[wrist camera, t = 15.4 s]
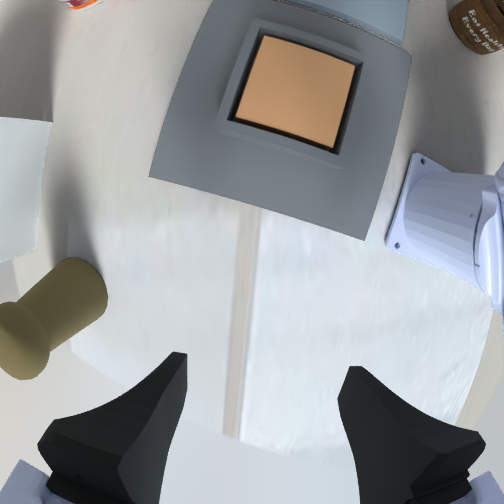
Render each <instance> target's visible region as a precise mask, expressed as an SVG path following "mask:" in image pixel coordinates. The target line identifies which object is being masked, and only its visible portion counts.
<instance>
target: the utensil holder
mask: <svg viewBox="0 0 504 504" xmlns="http://www.w3.org/2000/svg"><path fill="white" fill-rule="evenodd" d="M449 17H450V22H451V25H452V27H453V29H454V31H455V33H456V34H457V36H458V37H459V38H460V40H461V41H462V42H463V43H464V44H465V45H466V46H467V47H468V48H469V49H471V50H472V51H474V52H476V53H478V54H482V55H483V54H489V53H492V52H495V51H498V50H501V49H503V48H504V0H463V1H461V2H460V3H458V4H457V5H456V6H454V7H453V8H452V9H451V11H450V15H449Z"/></svg>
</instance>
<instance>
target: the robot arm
mask: <svg viewBox="0 0 504 504" xmlns="http://www.w3.org/2000/svg"><path fill="white" fill-rule="evenodd" d="M421 159H423V164H421ZM397 242H398V246H397V247H396V248H395V244H396V243H397ZM385 246H386V247H387V248H388V249H390V250H392V251H395V252H397V253H400V254H403V255H406V256H408V257H411V258H414V259H416V260H419V261H422V262H424V263H427V264H429V265H432V266H434V267H437V268H440V269H442V270H445V271H447V272H450V273H452V274H454V275H456V276H458V277H459V278H461V279H463V280H465V281H466V282H468V283H470V284H471V285H473V286H474V287H476V288H478V289H479V290H481V291H483V292H484V293H486V294H487V295H488V296H489V297H490V299H491V307H492V308H494V309H495V310H497V311H498V312H499V313H501V314H502V315H503V324H502V326H503V333H504V162H503V163H502V165H501V167H500V168H499V170H498V171H497V172H496V173H495V176H493V175H482V174H469V173H453V172H451V171H450V170H448V169H446V168H445V167H443V166H441V165H440V164H438V163H436V162H435V161H433V160H431V159H429V158H428V157H426V156H424V155H422V154H420V153H418V152H417V153H413V154H412V156H411V160H410V164H409V167H408V171H407V175H406V178H405V182H404V185H403V189H402V192H401V196H400V199H399V202H398V205H397V208H396V212H395V215H394V218H393V221H392V224H391V227H390V230H389V232H388V235H387V238H386V241H385ZM186 392H187V354H185V353H179V352H172V353H171V354H170V355H169V356H168V357H167V358H166V359H165V360H164V361H163V362H162V363H161V364H160V365H159V366H158V367H157V368H156V369H155V370H154V371H153V372H151V373H150V374H149V375H148V376H147V377H146V378H145V379H143V380H142V381H141V382H139V383H138V384H137V385H136V386H134V387H133V388H132V389H130V390H129V391H127V392H126V393H124V394H122V395H121V396H119V397H118V398H116V399H114V400H112V401H110V402H108V403H106V404H104V405H102V406H100V407H97V408H95V409H93V410H90V411H87V412H84V413H81V414H77V415H74V416H70V417H65V418H61V419H55V420H54V421H53V422H52V423H51V424H50V426H49V427H48V428H47V430H46V431H45V433H44V434H43V436H42V438H41V439H40V441H39V442H38V444H37V445H38V450H39V451H40V454H41V455H42V457H43V458H44V460H45V461H46V463H47V464H48V465H49V467H50V468H51V470H52V471H53V472H52V474H51V476H50V477H49V476H48V475H46V474H45V473H44V472H42V471H40V470H38V469H37V468H35V467H33V466H31V465H30V464H28V463H26V462H25V461H23V460H19V462H18V463H17V465H16V466H15V468H14V470H13V471H12V473H11V475H10V476H9V478H8V480H7V481H6V483H5V485H4V487H3V488H2V490H1V491H0V504H159V499H160V493H161V486H162V481H163V475H164V470H165V465H166V460H167V455H168V451H169V448H170V444H171V441H172V438H173V436H174V433H175V430H176V427H177V424H178V421H179V418H180V416H181V413H182V410H183V407H184V402H185V397H186ZM337 399H338V405H339V411H340V416H341V419H342V422H343V426H344V429H345V432H346V435H347V437H348V440H349V443H350V446H351V449H352V452H353V456H354V460H355V465H356V471H357V477H358V485H359V494H360V504H504V494H503V492H502V491H501V489H500V487H499V485H498V484H497V482H496V480H495V479H494V477H493V476H492V474H491V472H490V471H487V472H485V473H484V474H482V475H480V476H478V477H476V478H474V479H473V480H471V481H470V482H468V480H467V477H469V475H470V474H469V472H468V469H469V468H470V466H471V465H472V464H473V463H474V462H475V461H476V460H477V459H478V457H479V456H480V455H481V454H482V452H483V451H484V449H485V445H486V443H485V441H484V440H483V439H482V437H481V435H480V434H479V433H478V432H477V431H472V430H468V429H463V428H459V427H456V426H453V425H450V424H447V423H445V422H442V421H440V420H437V419H435V418H433V417H431V416H429V415H427V414H425V413H423V412H421V411H420V410H418V409H416V408H415V407H413V406H411V405H410V404H408V403H407V402H406V401H404V400H403V399H401V398H400V397H399V396H397V395H396V394H395V393H393V392H392V391H391V390H390V389H388V388H387V387H386V386H385V385H384V384H383V383H381V382H380V381H379V380H378V379H377V378H376V377H374V376H373V375H372V374H371V373H370V372H368V371H367V370H366V369H365V368H363V367H362V366H350V367H349V370H348V372H347V375H346V378H345V380H344V383H343V386H342V388H341V391H340V393H339V396H338V398H337Z"/></svg>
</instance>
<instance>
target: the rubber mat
mask: <svg viewBox="0 0 504 504" xmlns="http://www.w3.org/2000/svg"><path fill="white" fill-rule="evenodd" d="M287 1H291V2H294V3H298V4H301V5H305V6H308V7H311V8H314V9H317V10H320V11H323V12H326V13H329V14H332V15H334V16H337V17H340V18H342V19H345V20H347V21H350V22H352V23H355V24H357V25H359V26H362V27H364V28H366V29H368V30H371V31H373V32H375V33H377V34H379V35H381V36H383V37H385V38H387V39H389V40H391V41H393V42H395V43H397V44H400V43H402V42H403V39H404V32H405V24H406V16H407V7H408V0H287Z"/></svg>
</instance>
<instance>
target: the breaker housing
mask: <svg viewBox="0 0 504 504" xmlns="http://www.w3.org/2000/svg"><path fill="white" fill-rule="evenodd" d="M264 35H265V36H269V37H272V38H276V39H280V40H283V41H287V42H290V43H294V44H297V45H300V46H303V47H306V48H309V49H312V50H315V51H318V52H321V53H324V54H326V55H329V56H332V57H334V58H337V59H339V60H342V61H344V62H347V63H349V64H352V65H354V66H355V69H354V72H353V76H352V80H351V84H350V88H349V92H348V95H347V99H346V103H345V106H344V110H343V114H342V117H341V121H340V124H339V128H338V131H337V135H336V138H335V142H334V145H333V148H331V149H327V150H322V149H319V148H316V147H314V146H311V145H308V144H305V143H302V142H299V141H296V140H293V139H290V138H287V137H284V136H281V135H278V134H274V133H271V132H268V131H264V130H261V129H258V128H254V127H251V126H247V125H243V124H240V123H237V120H236V114H237V111H238V108H239V105H240V102H241V99H242V96H243V93H244V90H245V87H246V84H247V81H248V79H249V76H250V73H251V70H252V67H253V65H254V62H255V59H256V56H257V54H258V51H259V48H260V46H261V43H262V40H263V38H264ZM411 60H412V55H410V54H408V53H406V52H405V51H403V50H401V49H399V48H397V47H395V46H393V45H392V44H390V43H388V42H386V41H384V40H382V39H380V38H378V37H375V36H373V35H371V34H369V33H367V32H365V31H362V30H360V29H358V28H355V27H353V26H351V25H348V24H346V23H343V22H341V21H338V20H335V19H333V18H330V17H327V16H324V15H321V14H318V13H315V12H312V11H309V10H306V9H303V8H299V7H296V6H292V5H289V4H285V3H281V2H277V1H273V0H213V2H212V4H211V6H210V8H209V10H208V12H207V14H206V16H205V18H204V20H203V22H202V24H201V27H200V29H199V31H198V33H197V36H196V38H195V40H194V42H193V45H192V47H191V49H190V52H189V54H188V57H187V59H186V62H185V64H184V67H183V69H182V72H181V74H180V77H179V80H178V82H177V85H176V88H175V91H174V93H173V96H172V99H171V102H170V105H169V108H168V111H167V114H166V117H165V120H164V123H163V127H162V130H161V133H160V136H159V140H158V143H157V147H156V150H155V154H154V157H153V161H152V165H151V169H150V173H149V176H148V177H152V178H156V179H160V180H164V181H168V182H172V183H176V184H179V185H183V186H187V187H191V188H194V189H198V190H202V191H205V192H209V193H213V194H216V195H220V196H223V197H227V198H230V199H234V200H237V201H241V202H244V203H248V204H251V205H254V206H258V207H261V208H264V209H268V210H271V211H274V212H278V213H281V214H284V215H287V216H290V217H294V218H297V219H300V220H303V221H306V222H309V223H312V224H316V225H319V226H322V227H325V228H328V229H331V230H334V231H337V232H340V233H343V234H346V235H349V236H351V237H354V238H357V239H360V240H363V241H365V238H366V235H367V232H368V229H369V227H370V224H371V221H372V218H373V215H374V212H375V209H376V206H377V202H378V199H379V196H380V193H381V190H382V186H383V183H384V180H385V176H386V173H387V169H388V166H389V162H390V158H391V155H392V151H393V147H394V143H395V139H396V135H397V131H398V127H399V122H400V118H401V113H402V109H403V104H404V99H405V94H406V89H407V84H408V78H409V72H410V66H411Z"/></svg>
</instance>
